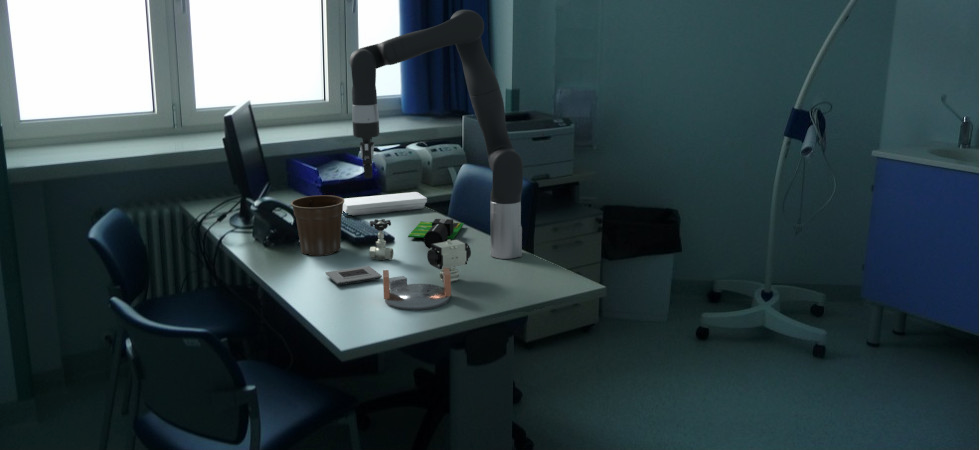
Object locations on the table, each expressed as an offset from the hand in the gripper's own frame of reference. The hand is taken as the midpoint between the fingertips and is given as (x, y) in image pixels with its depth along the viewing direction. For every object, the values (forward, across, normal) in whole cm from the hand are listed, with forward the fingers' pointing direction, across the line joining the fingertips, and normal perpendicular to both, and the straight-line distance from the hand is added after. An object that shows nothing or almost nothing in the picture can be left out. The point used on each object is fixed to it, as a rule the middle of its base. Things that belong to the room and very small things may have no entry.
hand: (368, 175), depth 261 cm
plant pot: (+27, +15, +17) cm, 35 cm away
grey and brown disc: (+27, -34, -12) cm, 45 cm away
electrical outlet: (+28, -15, +5) cm, 32 cm away
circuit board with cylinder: (+28, +25, -19) cm, 42 cm away
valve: (+27, +3, -2) cm, 27 cm away
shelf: (+28, +63, -3) cm, 69 cm away
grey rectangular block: (+27, -22, -7) cm, 36 cm away
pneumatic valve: (+28, -20, -22) cm, 40 cm away
